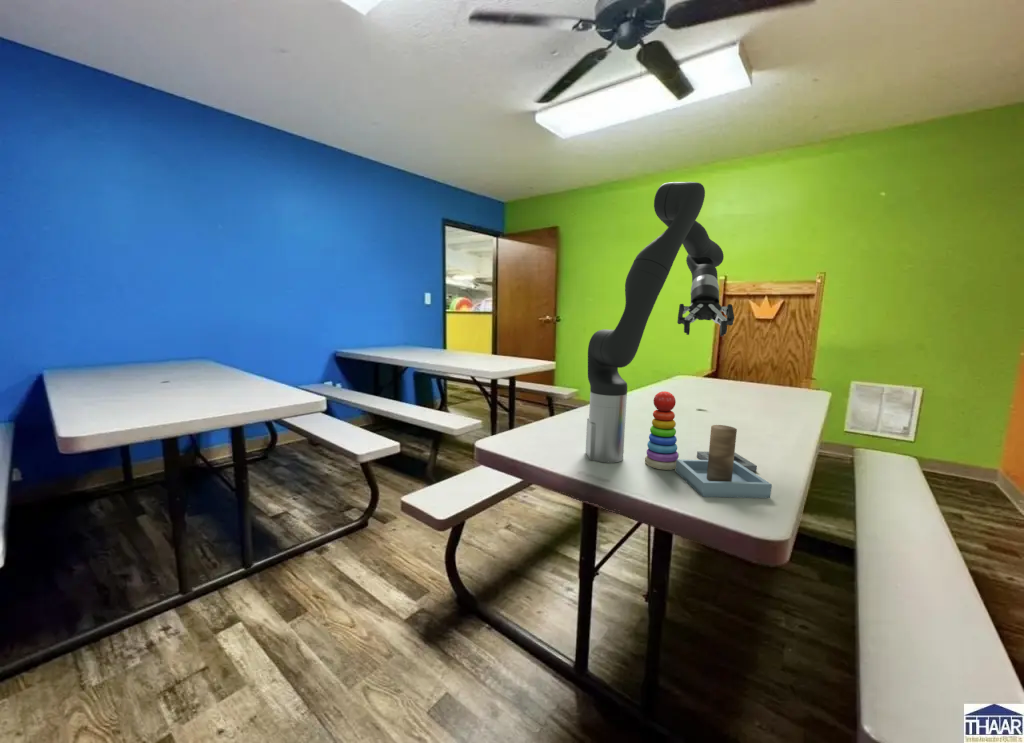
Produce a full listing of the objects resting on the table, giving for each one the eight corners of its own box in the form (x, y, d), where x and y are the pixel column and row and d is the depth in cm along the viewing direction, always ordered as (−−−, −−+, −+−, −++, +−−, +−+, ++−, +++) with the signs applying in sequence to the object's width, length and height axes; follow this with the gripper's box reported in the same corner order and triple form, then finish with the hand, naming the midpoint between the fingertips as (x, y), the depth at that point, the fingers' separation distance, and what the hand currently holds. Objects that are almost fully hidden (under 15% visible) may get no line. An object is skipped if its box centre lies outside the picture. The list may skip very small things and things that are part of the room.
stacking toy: (651, 457, 107) (656, 387, 105) (682, 464, 102) (688, 391, 100) (639, 465, 101) (644, 391, 99) (672, 473, 96) (678, 395, 94)
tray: (702, 496, 84) (703, 482, 84) (675, 471, 98) (676, 459, 97) (770, 498, 84) (771, 484, 84) (733, 472, 98) (734, 460, 97)
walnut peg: (713, 484, 88) (718, 430, 87) (702, 475, 93) (707, 424, 92) (736, 484, 88) (741, 431, 87) (724, 476, 93) (729, 425, 92)
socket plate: (715, 470, 99) (715, 464, 99) (696, 456, 109) (697, 451, 109) (756, 471, 99) (756, 465, 99) (734, 457, 109) (734, 452, 109)
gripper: (679, 283, 120) (678, 323, 111) (734, 283, 115) (737, 324, 106) (677, 302, 126) (676, 341, 116) (729, 303, 121) (731, 343, 111)
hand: (705, 333), depth 111 cm, fingers open, 8 cm apart
